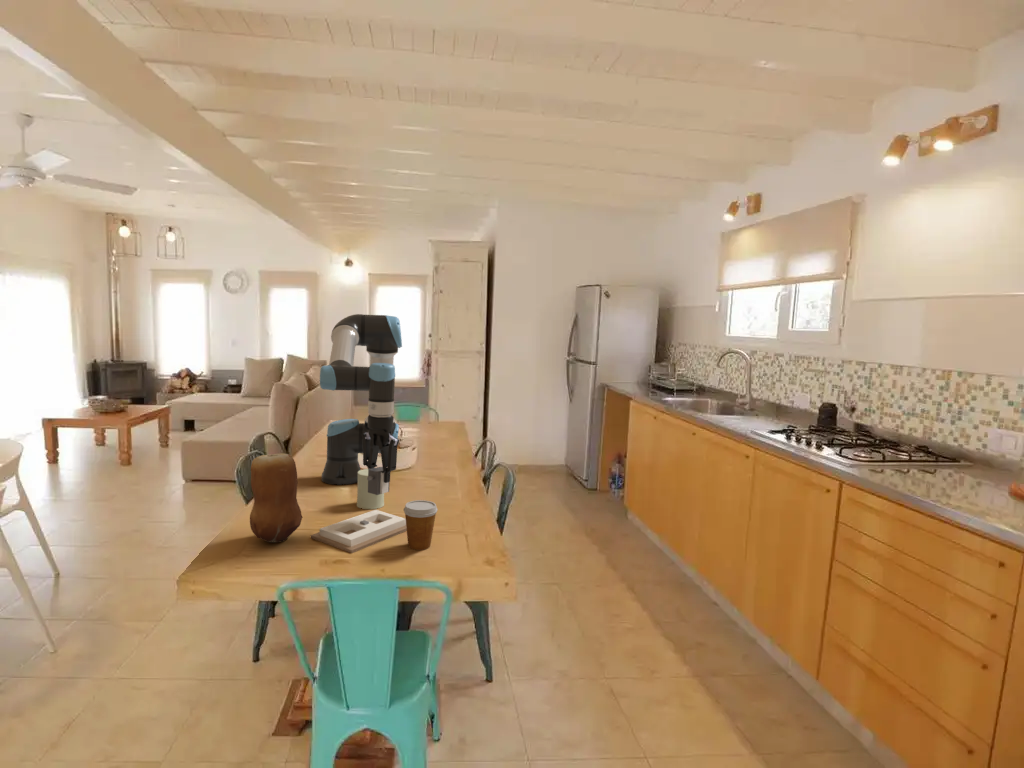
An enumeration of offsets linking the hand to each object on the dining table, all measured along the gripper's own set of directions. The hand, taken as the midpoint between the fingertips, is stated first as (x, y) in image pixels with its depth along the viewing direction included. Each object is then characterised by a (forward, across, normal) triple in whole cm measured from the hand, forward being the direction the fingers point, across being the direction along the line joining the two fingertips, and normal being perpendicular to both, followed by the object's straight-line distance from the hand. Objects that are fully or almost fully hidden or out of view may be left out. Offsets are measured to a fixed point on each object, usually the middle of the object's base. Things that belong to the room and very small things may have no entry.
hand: (378, 490), depth 175 cm
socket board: (+12, 0, -5) cm, 13 cm away
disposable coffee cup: (+12, +19, -2) cm, 22 cm away
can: (+12, -17, +14) cm, 25 cm away
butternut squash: (+12, -14, -25) cm, 31 cm away
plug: (0, 0, 0) cm, 0 cm away
